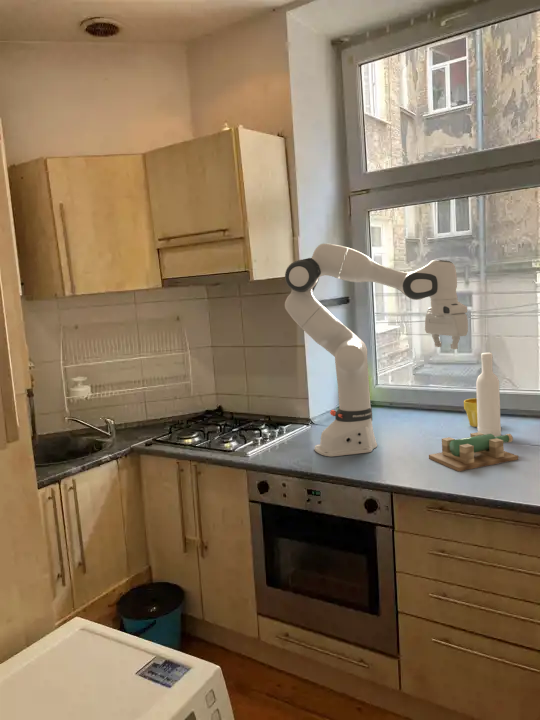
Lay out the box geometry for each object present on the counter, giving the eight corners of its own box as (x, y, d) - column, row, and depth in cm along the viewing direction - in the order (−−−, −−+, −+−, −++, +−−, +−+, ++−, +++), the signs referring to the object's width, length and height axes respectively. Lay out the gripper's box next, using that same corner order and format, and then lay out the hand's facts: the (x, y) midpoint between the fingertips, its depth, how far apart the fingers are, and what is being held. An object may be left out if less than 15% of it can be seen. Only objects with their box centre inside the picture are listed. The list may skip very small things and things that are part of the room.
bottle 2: (457, 459, 193) (460, 446, 191) (448, 449, 197) (451, 437, 195) (512, 448, 200) (516, 436, 197) (503, 439, 204) (506, 427, 201)
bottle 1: (502, 437, 218) (500, 354, 215) (479, 438, 220) (476, 355, 216) (499, 432, 226) (496, 351, 222) (476, 432, 228) (473, 352, 224)
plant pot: (470, 421, 245) (469, 397, 244) (496, 423, 239) (496, 398, 238) (460, 427, 238) (459, 402, 236) (487, 429, 231) (486, 404, 230)
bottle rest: (458, 471, 187) (457, 450, 186) (428, 458, 202) (428, 439, 201) (518, 459, 193) (517, 439, 193) (485, 447, 208) (484, 429, 208)
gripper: (419, 307, 218) (421, 346, 220) (454, 309, 199) (455, 351, 201) (435, 306, 220) (436, 344, 222) (470, 307, 201) (472, 349, 203)
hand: (446, 348), depth 211 cm, fingers open, 8 cm apart
